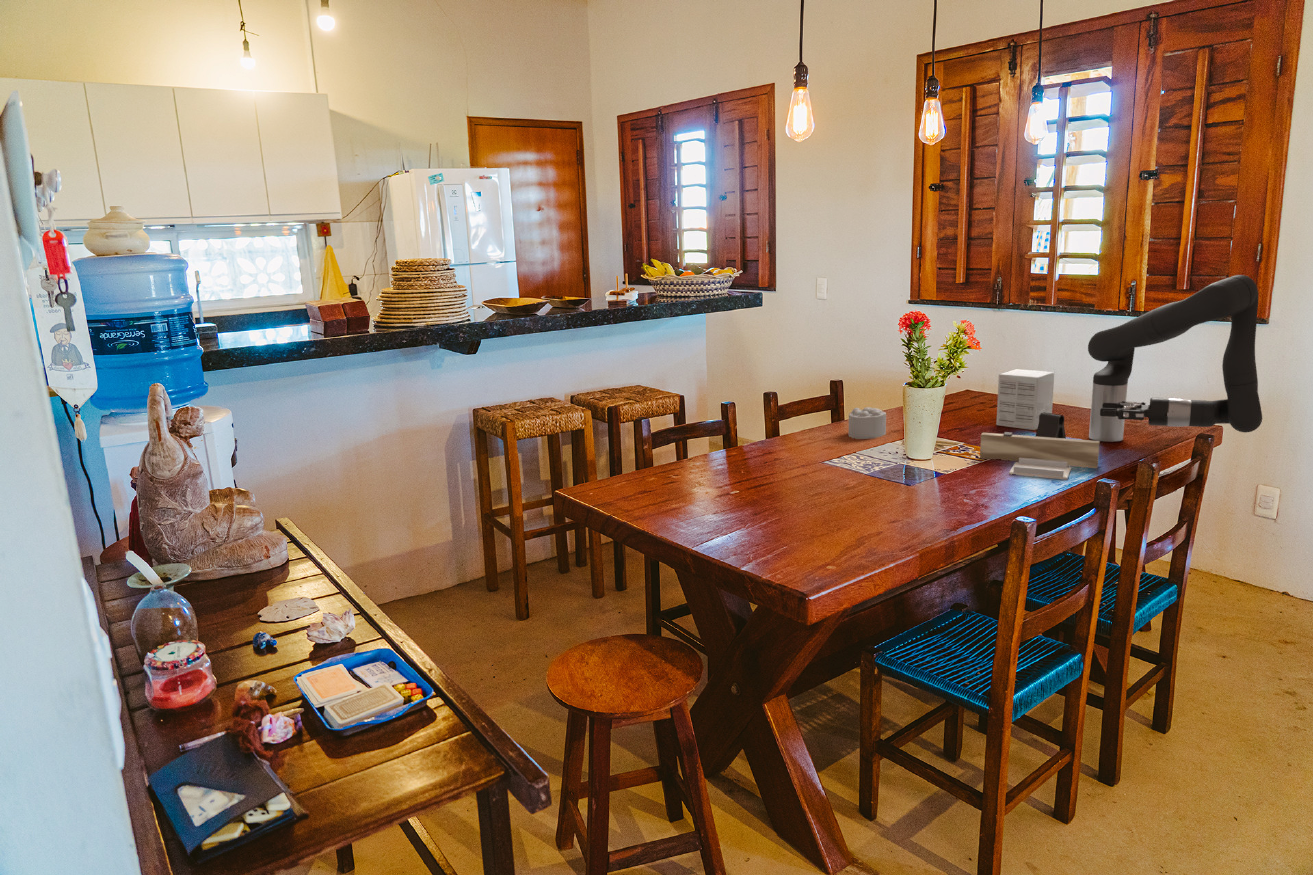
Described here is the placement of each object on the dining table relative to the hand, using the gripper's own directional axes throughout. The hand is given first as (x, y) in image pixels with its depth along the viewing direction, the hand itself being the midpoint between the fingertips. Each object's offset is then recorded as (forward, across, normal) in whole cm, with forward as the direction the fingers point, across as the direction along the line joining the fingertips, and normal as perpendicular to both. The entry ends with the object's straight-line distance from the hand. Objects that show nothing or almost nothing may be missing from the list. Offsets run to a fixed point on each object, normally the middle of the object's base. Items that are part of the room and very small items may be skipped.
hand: (1101, 409), depth 229 cm
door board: (+14, +10, +14) cm, 22 cm away
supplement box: (+25, -38, +14) cm, 48 cm away
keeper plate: (+12, +20, +14) cm, 27 cm away
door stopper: (+12, 0, +14) cm, 19 cm away
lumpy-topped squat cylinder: (+68, -6, +14) cm, 70 cm away
